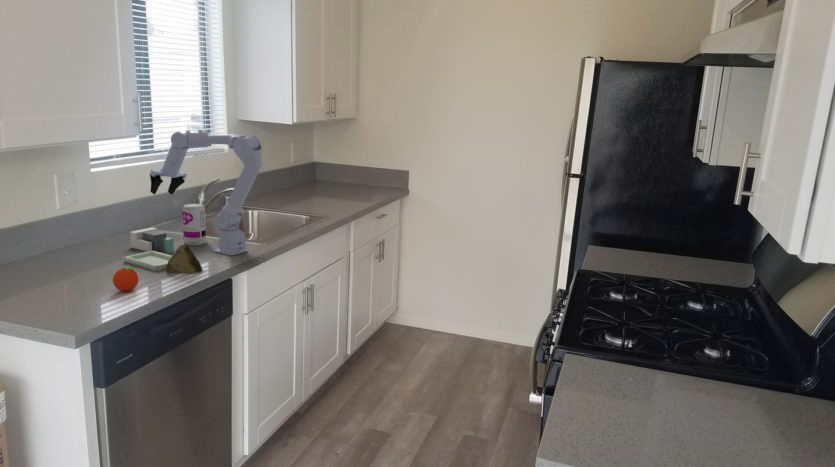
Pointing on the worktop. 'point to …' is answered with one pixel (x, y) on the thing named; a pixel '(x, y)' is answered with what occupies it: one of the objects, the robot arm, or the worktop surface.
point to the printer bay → (141, 240)
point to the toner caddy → (159, 241)
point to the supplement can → (194, 224)
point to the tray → (149, 260)
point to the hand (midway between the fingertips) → (161, 192)
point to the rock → (184, 261)
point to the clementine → (125, 279)
